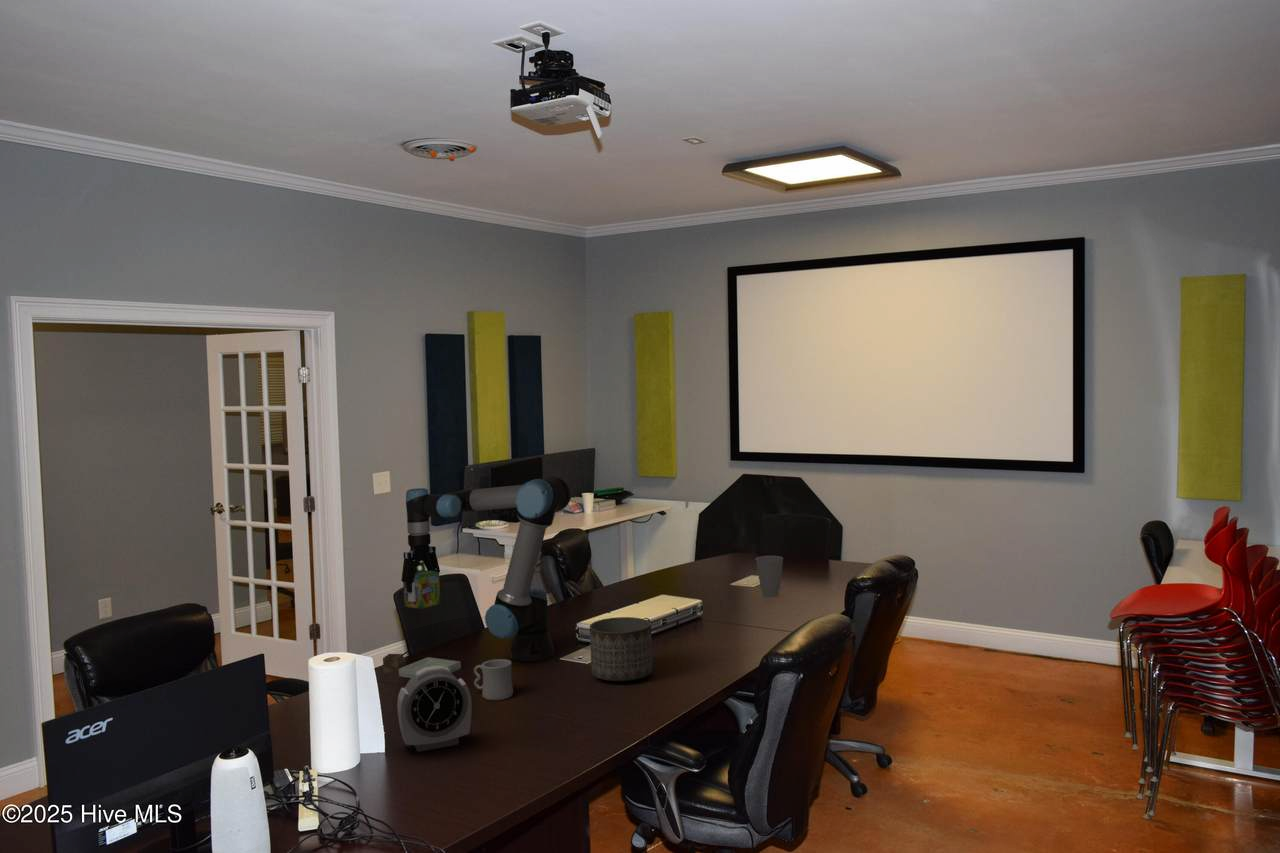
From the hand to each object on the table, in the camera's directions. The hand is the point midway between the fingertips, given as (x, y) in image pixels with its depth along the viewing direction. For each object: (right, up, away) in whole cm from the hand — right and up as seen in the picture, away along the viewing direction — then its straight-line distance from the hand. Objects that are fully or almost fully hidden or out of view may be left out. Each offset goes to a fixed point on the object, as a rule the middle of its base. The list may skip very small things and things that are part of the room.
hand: (422, 598), depth 317 cm
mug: (+31, -22, -42) cm, 56 cm away
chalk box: (0, -3, 0) cm, 3 cm away
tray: (+6, -21, -16) cm, 27 cm away
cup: (+131, -14, +79) cm, 154 cm away
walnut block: (-6, -22, -12) cm, 26 cm away
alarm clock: (+22, -23, -79) cm, 85 cm away
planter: (+70, -20, -27) cm, 77 cm away
